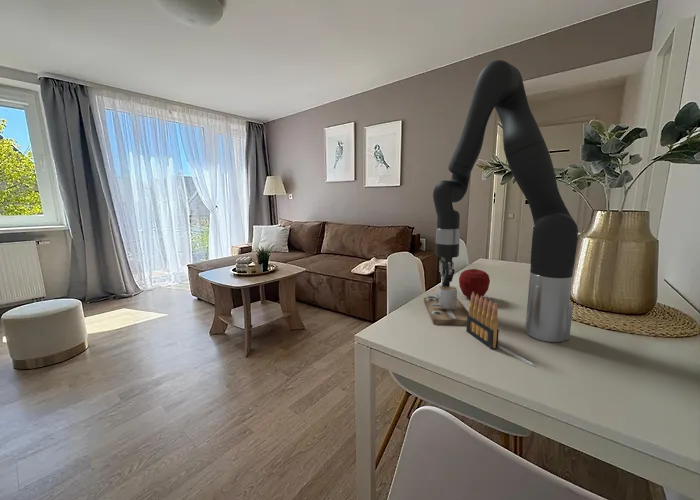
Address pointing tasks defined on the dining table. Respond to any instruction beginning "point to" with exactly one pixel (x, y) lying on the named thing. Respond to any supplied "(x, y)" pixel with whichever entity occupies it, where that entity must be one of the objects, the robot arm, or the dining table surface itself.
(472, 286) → the apple
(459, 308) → the sliding latch plate
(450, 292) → the grey latch block
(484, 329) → the ammunition clip
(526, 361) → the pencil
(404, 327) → the dining table surface
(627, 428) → the dining table surface
